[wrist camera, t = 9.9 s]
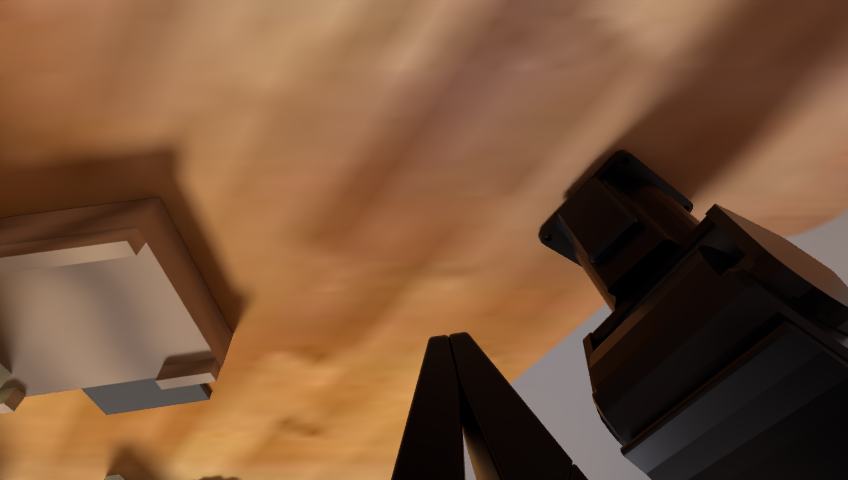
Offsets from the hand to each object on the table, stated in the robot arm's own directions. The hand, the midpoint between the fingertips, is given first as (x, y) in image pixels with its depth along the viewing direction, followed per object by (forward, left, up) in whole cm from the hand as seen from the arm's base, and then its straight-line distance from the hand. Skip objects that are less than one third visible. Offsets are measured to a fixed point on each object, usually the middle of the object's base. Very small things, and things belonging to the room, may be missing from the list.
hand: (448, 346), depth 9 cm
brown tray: (+12, +19, -13) cm, 26 cm away
